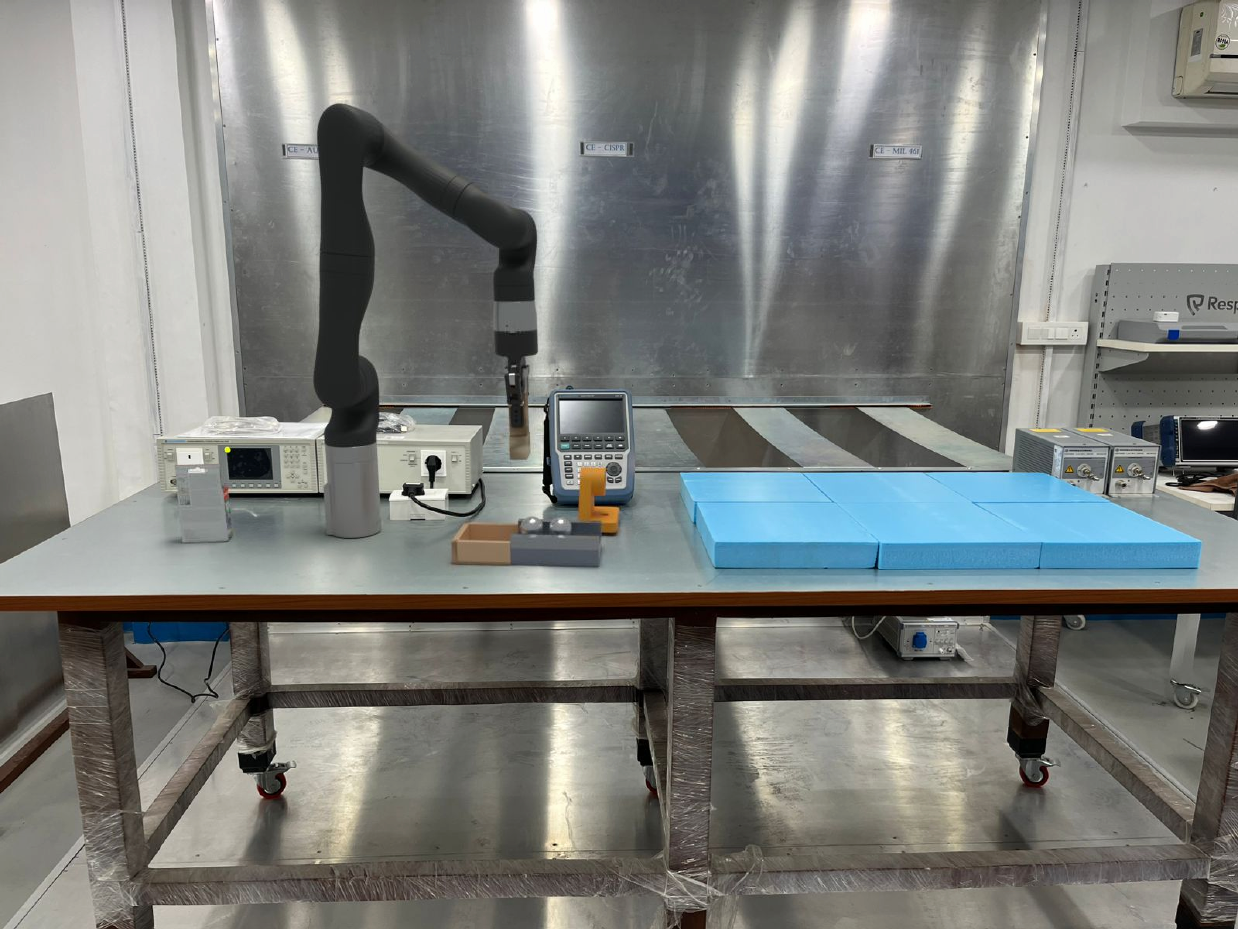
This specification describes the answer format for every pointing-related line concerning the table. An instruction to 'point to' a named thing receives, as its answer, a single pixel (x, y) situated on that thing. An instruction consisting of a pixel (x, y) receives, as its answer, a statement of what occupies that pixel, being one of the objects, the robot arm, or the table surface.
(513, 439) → the tall wooden post
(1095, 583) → the table surface
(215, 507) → the ink box
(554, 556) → the slot rail
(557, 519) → the ball
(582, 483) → the bracket
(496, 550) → the tray
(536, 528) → the ball
